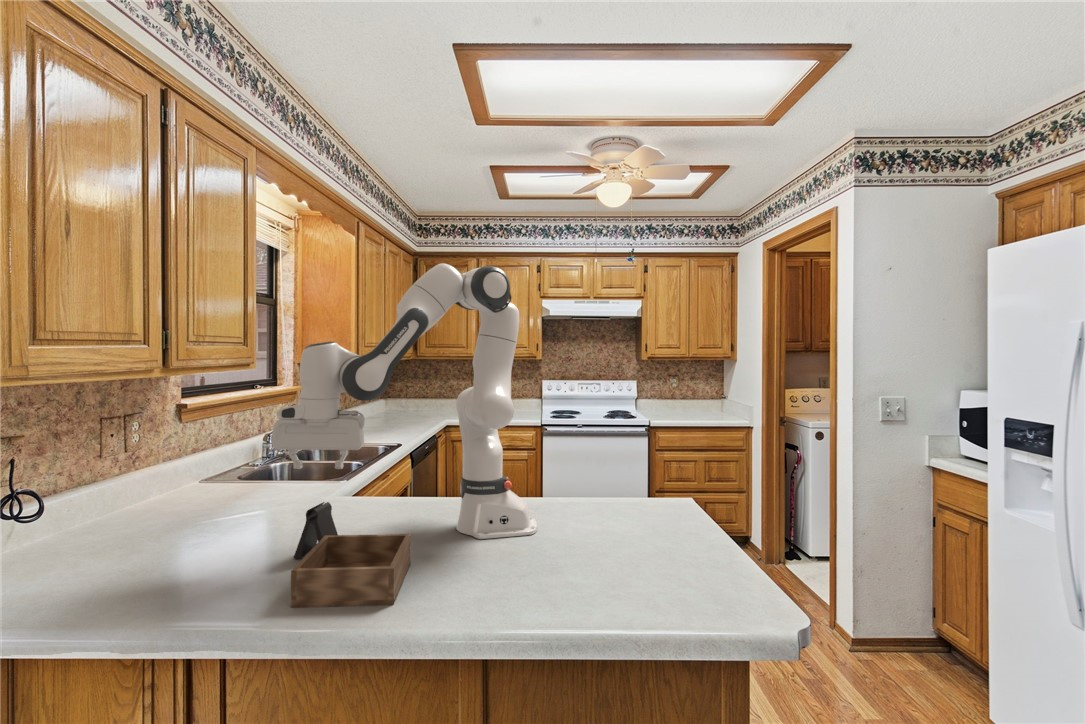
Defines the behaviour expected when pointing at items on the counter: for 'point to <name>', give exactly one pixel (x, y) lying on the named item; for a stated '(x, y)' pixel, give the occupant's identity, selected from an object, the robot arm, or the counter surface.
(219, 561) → the counter surface
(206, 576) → the counter surface
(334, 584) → the walnut box
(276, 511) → the counter surface
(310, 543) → the phone stand
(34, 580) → the counter surface
